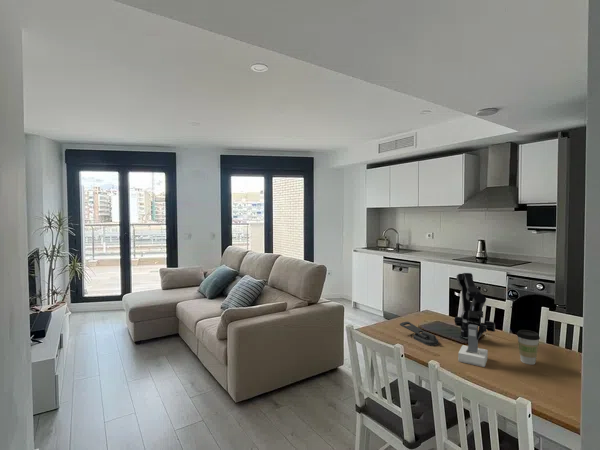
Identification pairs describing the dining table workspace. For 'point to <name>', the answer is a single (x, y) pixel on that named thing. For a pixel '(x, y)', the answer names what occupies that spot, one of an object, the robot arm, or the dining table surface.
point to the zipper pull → (421, 334)
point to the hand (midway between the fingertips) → (472, 338)
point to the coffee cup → (528, 346)
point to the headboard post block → (473, 356)
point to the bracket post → (472, 338)
